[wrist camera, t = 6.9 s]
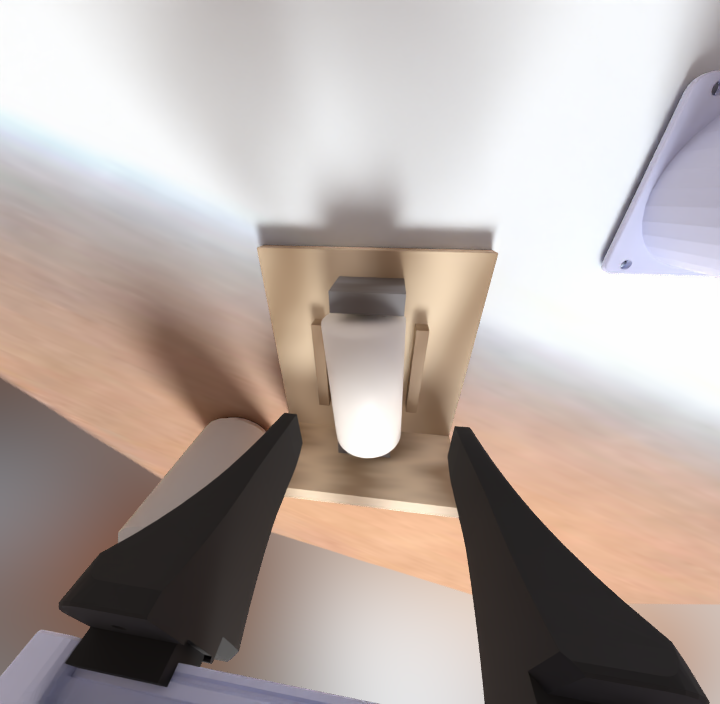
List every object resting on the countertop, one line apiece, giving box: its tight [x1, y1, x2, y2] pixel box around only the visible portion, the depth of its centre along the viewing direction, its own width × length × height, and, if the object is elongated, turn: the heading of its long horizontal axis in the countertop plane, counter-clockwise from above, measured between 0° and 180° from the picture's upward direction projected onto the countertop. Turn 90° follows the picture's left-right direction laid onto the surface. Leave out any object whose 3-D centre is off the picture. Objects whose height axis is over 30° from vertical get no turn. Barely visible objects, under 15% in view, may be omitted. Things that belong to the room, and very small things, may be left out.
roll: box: [321, 313, 406, 458], centre depth 17 cm, size 5×9×5 cm, turn 3°
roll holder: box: [257, 245, 498, 518], centre depth 17 cm, size 14×16×7 cm
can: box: [118, 417, 266, 543], centre depth 22 cm, size 8×8×12 cm
